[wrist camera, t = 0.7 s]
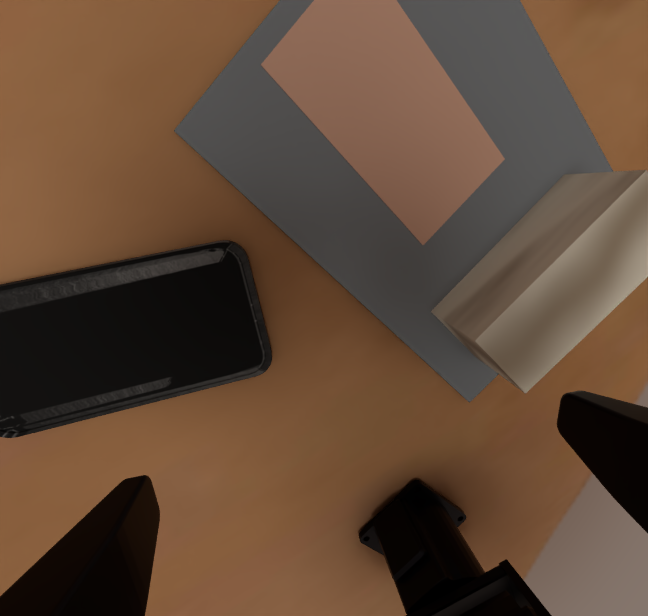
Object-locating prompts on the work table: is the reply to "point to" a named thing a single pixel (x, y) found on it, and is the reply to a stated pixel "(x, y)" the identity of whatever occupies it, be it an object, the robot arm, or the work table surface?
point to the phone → (127, 335)
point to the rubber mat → (396, 146)
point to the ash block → (553, 275)
